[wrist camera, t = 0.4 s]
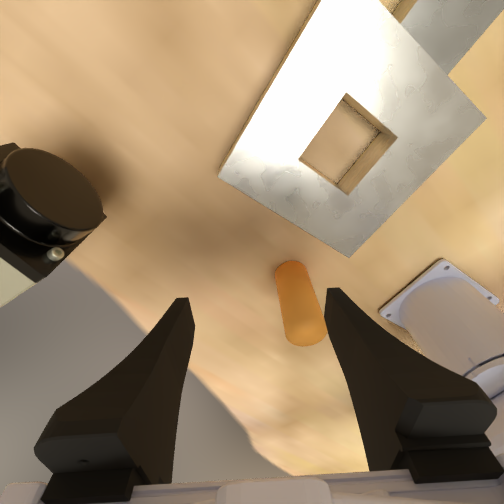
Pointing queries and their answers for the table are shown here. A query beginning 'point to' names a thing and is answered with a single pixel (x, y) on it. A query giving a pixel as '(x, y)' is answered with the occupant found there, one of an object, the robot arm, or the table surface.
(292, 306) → the orange cylinder
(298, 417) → the table surface
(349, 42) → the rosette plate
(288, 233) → the table surface
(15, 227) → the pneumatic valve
